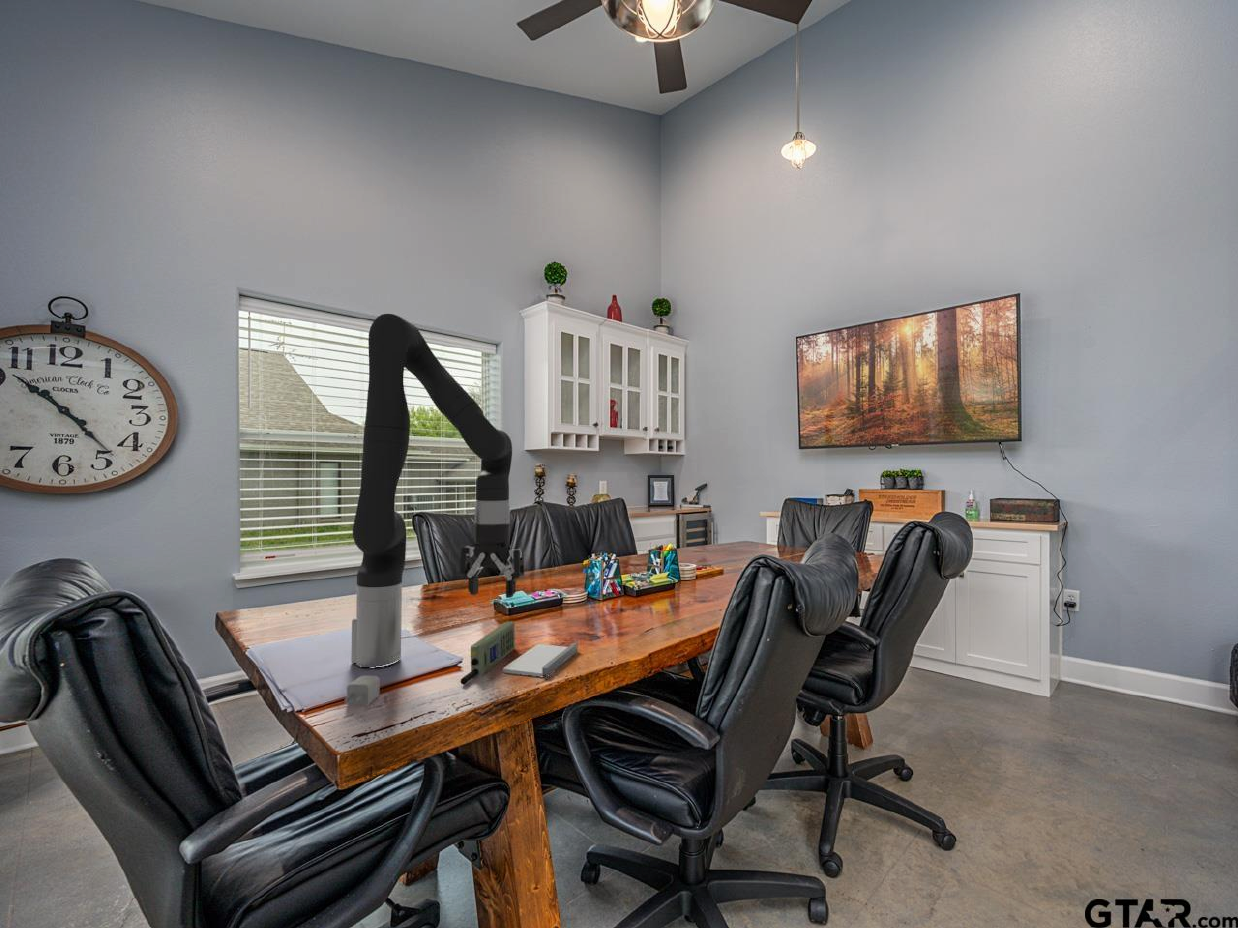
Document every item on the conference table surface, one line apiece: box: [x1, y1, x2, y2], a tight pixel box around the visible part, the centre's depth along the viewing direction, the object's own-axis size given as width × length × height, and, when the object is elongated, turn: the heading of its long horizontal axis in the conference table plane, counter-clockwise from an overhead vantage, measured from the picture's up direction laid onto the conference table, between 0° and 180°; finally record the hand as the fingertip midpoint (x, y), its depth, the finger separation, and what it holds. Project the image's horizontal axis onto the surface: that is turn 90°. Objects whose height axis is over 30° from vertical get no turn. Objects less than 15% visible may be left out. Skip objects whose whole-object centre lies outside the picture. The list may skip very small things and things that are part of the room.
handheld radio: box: [460, 621, 516, 685], centre depth 127 cm, size 7×3×25 cm
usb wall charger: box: [344, 675, 381, 708], centre depth 106 cm, size 4×7×4 cm, turn 178°
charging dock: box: [502, 642, 579, 678], centre depth 130 cm, size 10×18×2 cm, turn 164°
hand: (491, 595), depth 127 cm, fingers open, 8 cm apart
